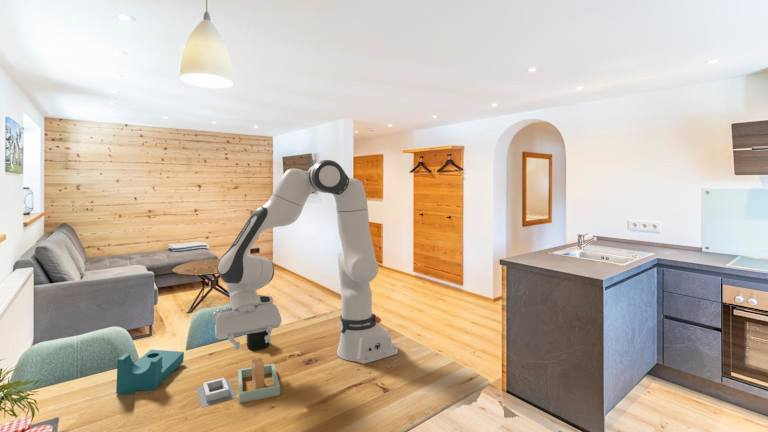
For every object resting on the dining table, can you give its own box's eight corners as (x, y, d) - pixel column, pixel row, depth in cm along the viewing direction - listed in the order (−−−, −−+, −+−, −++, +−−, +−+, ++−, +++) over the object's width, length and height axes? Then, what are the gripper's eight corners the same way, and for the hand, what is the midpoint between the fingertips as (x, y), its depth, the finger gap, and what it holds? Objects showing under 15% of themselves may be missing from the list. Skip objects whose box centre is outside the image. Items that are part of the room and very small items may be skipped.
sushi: (249, 352, 139) (249, 331, 138) (245, 343, 146) (244, 323, 146) (271, 347, 143) (271, 327, 143) (266, 339, 150) (266, 319, 150)
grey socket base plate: (228, 382, 118) (228, 372, 118) (236, 401, 108) (236, 391, 108) (196, 390, 114) (196, 380, 113) (201, 411, 104) (201, 400, 103)
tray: (274, 373, 124) (274, 363, 124) (280, 398, 110) (279, 386, 110) (238, 380, 120) (237, 369, 119) (239, 406, 106) (239, 394, 106)
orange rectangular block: (260, 382, 117) (260, 357, 116) (264, 388, 114) (263, 363, 113) (252, 384, 116) (251, 359, 115) (255, 391, 113) (255, 365, 112)
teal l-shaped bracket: (154, 395, 112) (155, 361, 111) (116, 393, 111) (117, 359, 110) (183, 365, 130) (184, 336, 129) (150, 363, 129) (151, 334, 128)
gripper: (211, 306, 118) (218, 348, 111) (277, 296, 129) (287, 333, 122) (210, 316, 123) (216, 357, 115) (273, 305, 134) (282, 342, 126)
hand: (253, 345), depth 119 cm, fingers open, 8 cm apart
